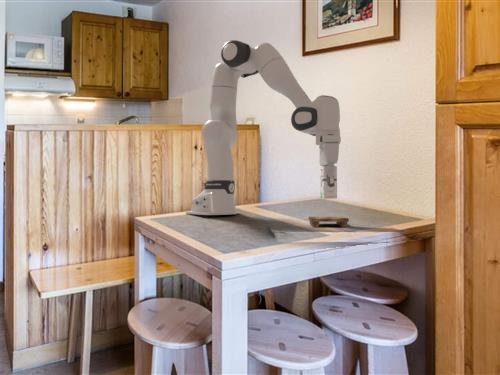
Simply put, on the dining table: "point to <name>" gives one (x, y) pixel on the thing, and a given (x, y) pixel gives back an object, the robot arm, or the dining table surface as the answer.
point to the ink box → (328, 184)
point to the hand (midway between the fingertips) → (328, 177)
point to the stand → (339, 221)
